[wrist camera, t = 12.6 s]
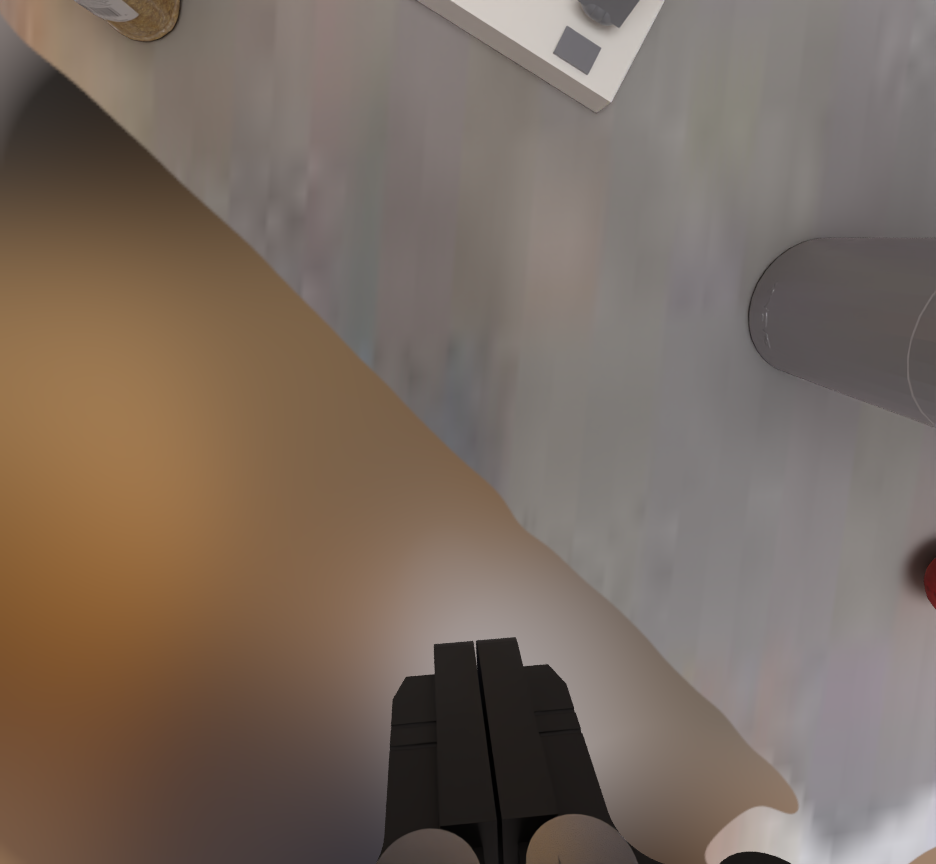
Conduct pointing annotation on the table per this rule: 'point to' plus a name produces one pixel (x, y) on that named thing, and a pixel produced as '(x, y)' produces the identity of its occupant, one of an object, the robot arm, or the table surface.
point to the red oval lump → (931, 582)
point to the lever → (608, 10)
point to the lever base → (557, 41)
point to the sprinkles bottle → (136, 16)
